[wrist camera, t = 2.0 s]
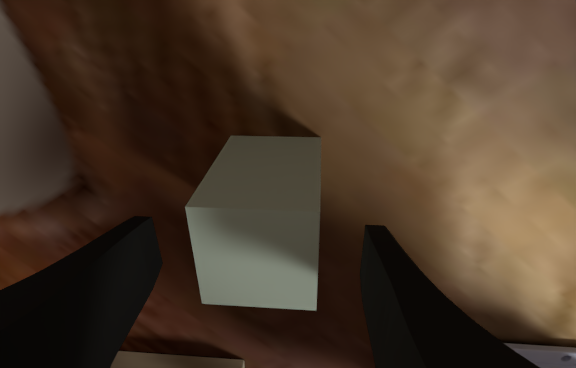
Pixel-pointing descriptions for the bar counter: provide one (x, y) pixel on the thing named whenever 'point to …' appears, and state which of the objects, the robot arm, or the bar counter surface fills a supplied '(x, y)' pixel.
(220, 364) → the birch block
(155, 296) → the bar counter surface
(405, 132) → the bar counter surface
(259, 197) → the sage block
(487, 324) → the bar counter surface
